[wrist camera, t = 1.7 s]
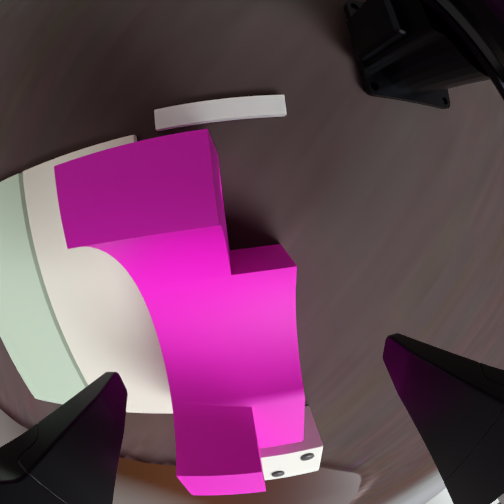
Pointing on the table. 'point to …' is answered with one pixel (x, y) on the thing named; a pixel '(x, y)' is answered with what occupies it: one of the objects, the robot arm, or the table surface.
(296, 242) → the table surface
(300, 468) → the die
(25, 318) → the game board
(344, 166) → the table surface
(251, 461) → the toy block
